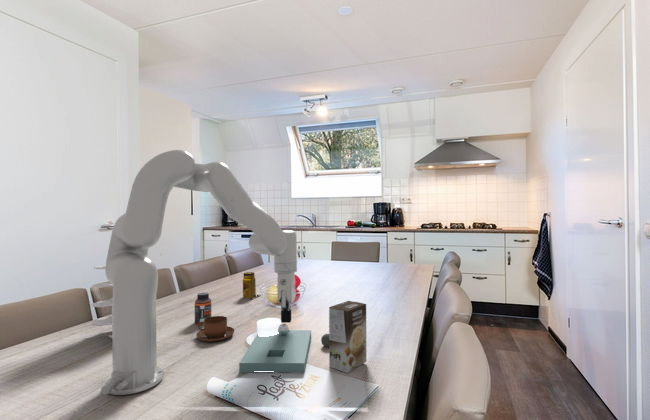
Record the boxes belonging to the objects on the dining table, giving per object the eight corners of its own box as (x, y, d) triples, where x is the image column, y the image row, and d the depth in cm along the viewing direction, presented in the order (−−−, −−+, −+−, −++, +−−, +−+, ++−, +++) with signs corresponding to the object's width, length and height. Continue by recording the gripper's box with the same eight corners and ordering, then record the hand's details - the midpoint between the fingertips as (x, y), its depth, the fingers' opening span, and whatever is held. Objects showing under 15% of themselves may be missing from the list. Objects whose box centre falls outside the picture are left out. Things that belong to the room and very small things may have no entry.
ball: (288, 336, 106) (288, 325, 106) (277, 336, 106) (277, 325, 106) (289, 332, 110) (289, 322, 110) (279, 332, 110) (279, 322, 110)
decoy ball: (333, 348, 103) (333, 336, 103) (320, 348, 103) (320, 336, 103) (333, 344, 106) (333, 331, 106) (321, 344, 107) (321, 331, 107)
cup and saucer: (194, 346, 106) (194, 327, 106) (198, 333, 118) (198, 315, 118) (234, 342, 109) (233, 323, 109) (234, 330, 121) (234, 312, 121)
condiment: (239, 298, 163) (238, 273, 163) (248, 294, 171) (248, 270, 171) (252, 299, 161) (252, 274, 161) (261, 295, 169) (261, 271, 169)
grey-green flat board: (304, 372, 88) (304, 363, 88) (239, 372, 88) (239, 363, 88) (311, 337, 112) (311, 330, 112) (259, 337, 112) (259, 330, 112)
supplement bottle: (206, 326, 124) (205, 295, 124) (191, 326, 125) (191, 295, 125) (214, 321, 129) (214, 291, 129) (200, 320, 131) (200, 291, 131)
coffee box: (348, 374, 87) (347, 311, 87) (328, 367, 91) (327, 307, 91) (367, 361, 94) (366, 303, 94) (348, 355, 98) (347, 299, 98)
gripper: (294, 271, 107) (294, 329, 107) (299, 263, 122) (299, 314, 122) (270, 271, 107) (270, 329, 107) (278, 263, 122) (278, 314, 122)
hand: (286, 321), depth 114 cm, fingers closed
